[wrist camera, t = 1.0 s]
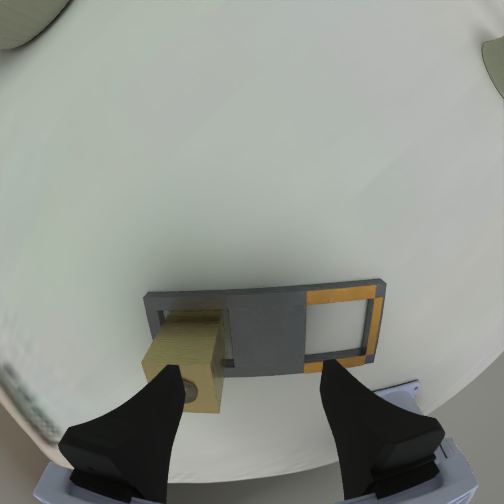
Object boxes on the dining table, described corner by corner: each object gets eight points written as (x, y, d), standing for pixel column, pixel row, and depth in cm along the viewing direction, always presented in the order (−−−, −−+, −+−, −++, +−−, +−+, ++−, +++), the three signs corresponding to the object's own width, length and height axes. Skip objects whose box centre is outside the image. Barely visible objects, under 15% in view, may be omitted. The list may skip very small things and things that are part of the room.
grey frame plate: (369, 355, 24) (373, 362, 22) (165, 368, 24) (162, 376, 23) (380, 278, 22) (387, 283, 20) (147, 292, 22) (142, 298, 21)
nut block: (227, 353, 23) (219, 415, 16) (179, 353, 23) (157, 411, 16) (221, 310, 22) (209, 367, 15) (170, 311, 22) (140, 364, 15)
